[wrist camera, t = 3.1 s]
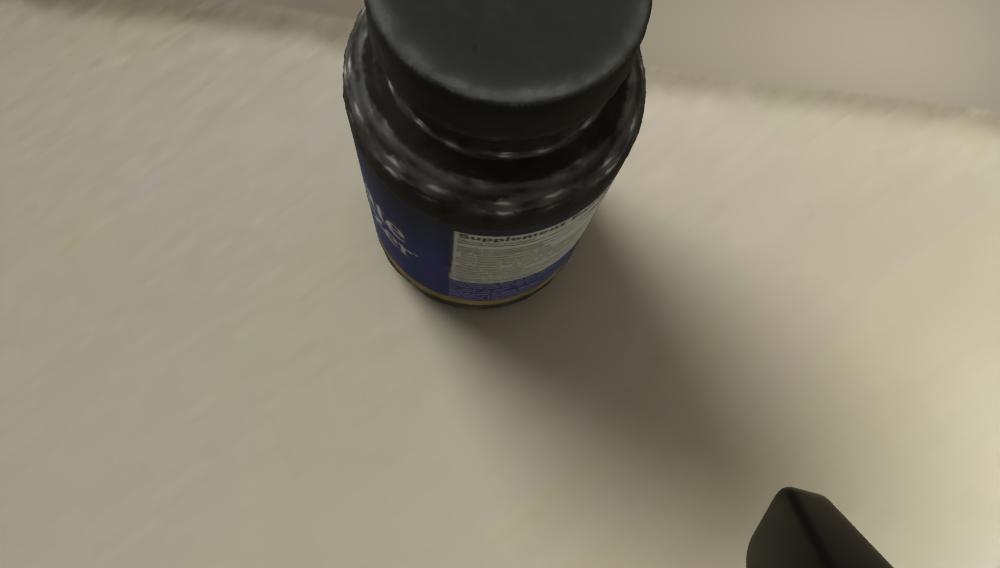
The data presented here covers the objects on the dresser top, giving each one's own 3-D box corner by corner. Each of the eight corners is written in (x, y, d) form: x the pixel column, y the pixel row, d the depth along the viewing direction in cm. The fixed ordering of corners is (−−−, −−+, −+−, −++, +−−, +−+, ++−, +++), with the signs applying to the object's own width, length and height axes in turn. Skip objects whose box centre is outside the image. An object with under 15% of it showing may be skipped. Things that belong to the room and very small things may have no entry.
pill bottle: (357, 144, 23) (280, -161, 12) (548, 107, 23) (636, -209, 13) (400, 336, 21) (356, 183, 10) (602, 290, 22) (752, 104, 11)
